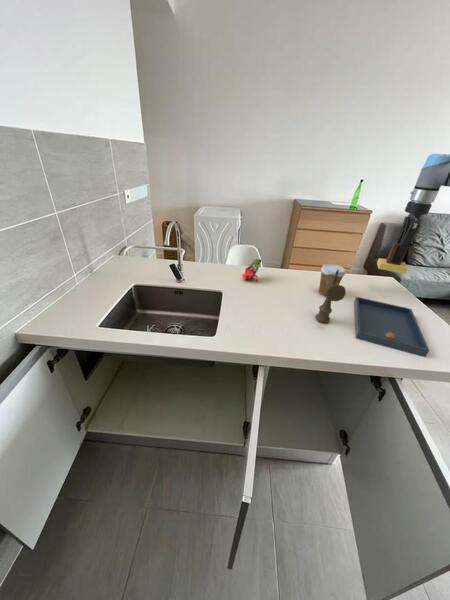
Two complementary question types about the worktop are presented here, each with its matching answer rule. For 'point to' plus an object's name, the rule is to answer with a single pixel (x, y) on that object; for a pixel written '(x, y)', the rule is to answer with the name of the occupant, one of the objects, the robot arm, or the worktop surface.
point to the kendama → (330, 296)
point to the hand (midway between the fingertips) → (394, 260)
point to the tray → (388, 326)
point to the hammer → (391, 266)
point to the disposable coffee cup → (330, 270)
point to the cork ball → (389, 336)
